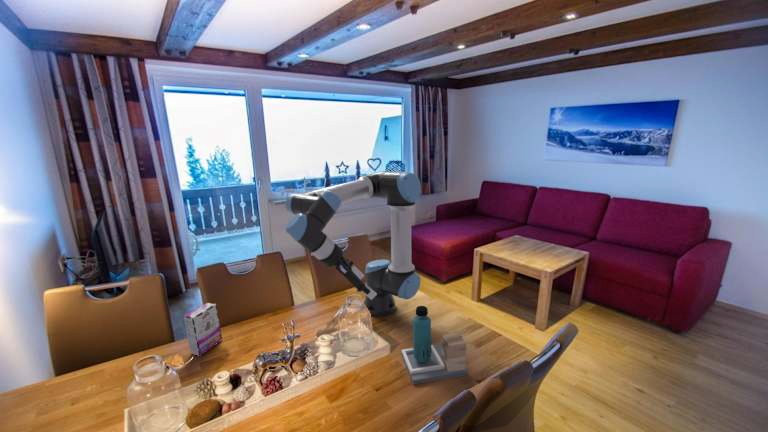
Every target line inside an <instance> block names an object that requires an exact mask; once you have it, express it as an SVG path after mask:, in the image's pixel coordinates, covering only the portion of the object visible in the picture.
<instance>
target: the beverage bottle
mask: <svg viewBox="0 0 768 432" xmlns="http://www.w3.org/2000/svg"><path fill="white" fill-rule="evenodd" d="M428 314H429V312H428V308H427V307H426V305H425V306H424V305H418V306H416V308H415V316H414V317H413V319H412V332H413V333H412V335H413V337H412V348H413V356H414V358H415V359H416V360H417V361H420V362H426V361H428V360H430V358H431V345H432V319H431V317H430V316H428Z"/></svg>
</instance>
